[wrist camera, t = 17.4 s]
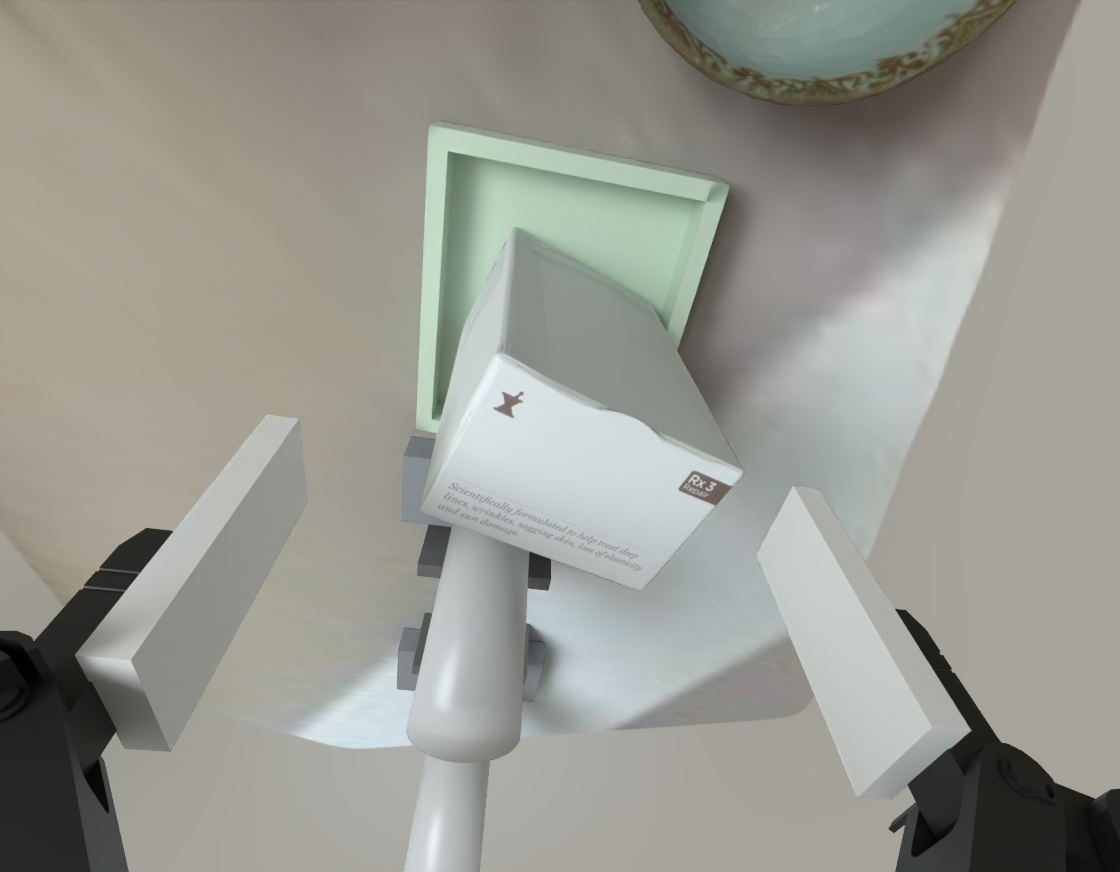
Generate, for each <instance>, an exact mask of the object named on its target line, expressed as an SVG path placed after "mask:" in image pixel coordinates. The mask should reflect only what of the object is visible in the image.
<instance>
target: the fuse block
mask: <svg viewBox="0 0 1120 872" xmlns="http://www.w3.org/2000/svg"><path fill="white" fill-rule="evenodd" d="M434 444H435V440H433V439H426V438H419V437H412V436H411V439H410V441H409V444H408V446H407V449H406V452H405V454H404V467H403V502H402V521H406V522H414V523H422V524H429V526H428V529H427V533H426V537H425V540H424V544H423V547H422V551H421V555H420V558H419V562H418V572H417V576H425V577H434V578H440V582H439V586H438V591H437V595H436V600H435V604H434V609H433V613H432V614H428V613H425V615H424V619H423V623H422V628H421V630H419V629H410V628H404V631H403V634H402V638H401V642H400V646H399V649H398V673H397V689H400V690H411V691H415V693H414V697H413V702H412V706H411V711H410V715H409V720H408V724H407V729H406V730H407V736H408V738H409V740H410V742H411V743H412V744H413V745H414V746H415V747H416V748H418V749H419V750H420V751H421V752H423V753H425V754H426V756H425V761H424V767H423V772H422V777H421V783H420V788H419V793H418V799H417V804H416V809H415V815H414V820H413V826H412V831H411V836H410V841H409V847H408V852H407V857H406V863H405V868H404V872H480V862H481V852H482V840H483V830H484V818H485V808H486V797H487V786H488V776H489V775H488V774H489V765H490V760H494V759H497V758H500V757H502V756H504V755H506V754H508V753H509V752H510V751H512V750H513V749H514V748H515V747H516V746H517V744H518V742H519V740H520V731H521V711H522V701H531V702H534V700H535V697H536V693H537V689H538V686H539V682H540V678H541V674H542V671H543V667H544V642H535V641H529V624H526V610H527V590H528V588H530V589H539V590H548V589H549V585H550V581H551V559H549V558H546V557H544V556H541V555H538V554H535V553H533V552H530V551H527V550H524V549H522V548H519V547H516V546H513V545H511V544H508V543H505V542H502V541H499V540H496V539H494V538H491V537H488V536H485V535H482V534H480V533H477V532H474V531H471V530H468V529H465V528H462V527H460V526H457V525H454V524H451V523H448V522H445V521H442V520H440V519H437V518H434V517H432V516H429V515H426V514H424V513H421V512H420V505H421V501H422V496H423V491H424V487H425V483H426V478H427V474H428V470H429V465H430V461H431V457H432V453H433V449H434Z"/></svg>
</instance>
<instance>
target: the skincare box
mask: <svg viewBox="0 0 1120 872" xmlns="http://www.w3.org/2000/svg"><path fill="white" fill-rule="evenodd" d="M743 474H744V470H743V468H742V466H741V465H740V463H739V461H738V459H737V457H736V456H735V454H734V452H733V450H732V449H731V447H730V445H729V443H728V441H727V439H726V438H725V436H724V434H723V432H722V430H721V429H720V427H719V425H718V423H717V422H716V420H715V418H714V416H713V414H712V413H711V411H710V409H709V407H708V405H707V404H706V402H705V400H704V398H703V396H702V395H701V393H700V391H699V389H698V388H697V386H696V384H695V382H694V381H693V379H692V377H691V375H690V373H689V372H688V370H687V368H686V366H685V364H684V363H683V361H682V359H681V357H680V356H679V354H678V352H677V350H676V348H675V347H674V345H673V343H672V341H671V339H670V338H669V336H668V334H667V332H666V330H665V329H664V327H663V325H662V323H661V321H660V319H659V318H658V316H657V314H656V312H655V310H654V309H653V307H652V304H651V303H650V302H649V301H648V300H646V299H645V298H643V297H641V296H640V295H638V294H636V293H634V292H633V291H631V290H629V289H627V288H626V287H624V286H622V285H620V284H618V283H617V282H615V281H613V280H612V279H610V278H608V277H606V276H605V275H603V274H601V273H599V272H598V271H596V270H594V269H592V268H590V267H588V266H587V265H585V264H583V263H581V262H580V261H578V260H576V259H574V258H572V257H571V256H569V255H567V254H565V253H563V252H561V251H559V250H557V249H555V248H553V247H551V246H549V245H547V244H545V243H543V242H541V241H539V240H537V239H535V238H534V237H532V236H531V235H529V234H527V233H526V232H524V231H522V230H521V229H519V228H517V227H513V229H512V230H511V231H510V233H509V235H508V237H507V239H506V241H505V243H504V245H503V247H502V249H501V251H500V253H499V255H498V257H497V259H496V261H495V263H494V265H493V267H492V269H491V271H490V273H489V275H488V277H487V279H486V282H485V284H484V286H483V288H482V290H481V292H480V294H479V296H478V298H477V300H476V302H475V304H474V306H473V308H472V310H471V312H470V314H469V316H468V318H467V320H466V323H465V325H464V328H463V331H462V335H461V339H460V343H459V347H458V351H457V355H456V359H455V363H454V368H453V372H452V376H451V380H450V384H449V389H448V393H447V396H446V400H445V404H444V408H443V412H442V416H441V420H440V424H439V428H438V432H437V436H436V440H435V444H434V449H433V453H432V457H431V461H430V465H429V470H428V474H427V478H426V483H425V487H424V491H423V496H422V501H421V505H420V512H421V513H424V514H426V515H429V516H432V517H434V518H437V519H440V520H442V521H445V522H448V523H451V524H454V525H457V526H460V527H462V528H465V529H468V530H471V531H474V532H477V533H480V534H482V535H485V536H488V537H491V538H494V539H496V540H499V541H502V542H505V543H508V544H511V545H513V546H516V547H519V548H522V549H524V550H527V551H530V552H533V553H535V554H538V555H541V556H544V557H546V558H549V559H552V560H555V561H558V562H560V563H563V564H566V565H569V566H571V567H574V568H577V569H580V570H583V571H585V572H588V573H591V574H594V575H596V576H599V577H602V578H605V579H607V580H610V581H613V582H616V583H618V584H621V585H624V586H626V587H629V588H632V589H635V590H637V591H640V590H642V589H643V588H644V587H645V586H646V585H647V584H648V583H649V582H650V581H651V580H652V579H653V578H654V576H655V575H656V574H657V573H658V572H659V571H660V570H661V568H662V567H663V566H664V565H665V564H666V563H667V562H668V561H669V559H670V558H671V557H672V556H673V555H674V553H675V552H676V551H677V550H678V549H679V548H680V547H681V545H682V544H683V543H684V542H685V541H686V540H687V539H688V537H689V536H690V535H691V534H692V533H693V532H694V531H695V529H696V528H697V527H698V526H699V525H700V524H701V523H702V521H703V520H704V519H705V518H706V517H707V516H708V515H709V513H710V512H711V511H712V510H713V509H714V508H715V506H716V505H717V504H718V503H719V502H720V500H721V499H722V498H723V497H724V495H725V494H726V493H727V492H728V491H729V490H730V489H731V488H732V487H733V485H734V484H735V483H736V482H737V481H738V480H739V479H740V478H741V477H742V476H743Z"/></svg>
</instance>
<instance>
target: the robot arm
mask: <svg viewBox="0 0 1120 872" xmlns="http://www.w3.org/2000/svg"><path fill="white" fill-rule="evenodd" d="M307 502H308V501H307V491H306V482H305V472H304V463H303V453H302V444H301V434H300V425H299V419H296V418H289V417H282V416H274V415H266V416H265V417H264V418H263V420H262V421H261V422H260V423H259V425H258V426H257V427H256V428H255V430H254V431H253V432H252V434H251V435H250V436H249V437H248V439H247V440H246V441H245V442H244V444H243V445H242V446H241V447H240V449H239V450H238V451H237V452H236V454H235V455H234V456H233V457H232V459H231V460H230V461H229V462H228V464H227V465H226V466H225V467H224V469H223V470H222V471H221V472H220V474H219V475H218V476H217V477H216V479H215V480H214V481H213V482H212V484H211V485H210V486H209V487H208V489H207V490H206V491H205V492H204V494H203V495H202V496H201V497H200V499H199V500H198V501H197V503H196V504H195V505H194V506H193V508H192V509H191V510H190V511H189V513H188V514H187V515H186V516H185V518H184V519H183V520H182V521H181V523H180V524H179V525H178V526H177V528H176V529H175V530H174V531H169V530H160V529H151V528H146V529H144V530H143V531H141V532H139V533H138V534H136V535H135V536H133V537H132V538H130V539H128V540H127V541H125V542H124V543H122V544H121V545H119V546H118V547H117V548H116V549H115V551H114V552H113V553H112V554H111V555H110V556H109V557H108V558H107V560H106V561H105V562H104V563H103V564H102V565H101V566H100V570H99V571H98V572H97V571H96V572H95V573H94V574H93V575H92V577H91V578H90V579H89V580H88V581H87V582H86V583H85V584H84V588H83V589H82V590H79V591H78V592H77V593H76V595H75V596H74V597H73V598H72V599H71V600H70V601H69V602H68V604H67V605H66V606H65V607H64V608H63V609H62V610H61V611H60V613H59V614H58V615H57V616H56V617H55V618H54V619H53V621H52V622H51V623H50V624H49V625H48V626H47V628H45V630H44V631H43V632H42V633H41V634H40V635H39V636H38V637H37V639H36V640H35V641H33V639H32V638H31V636H28V635H26V634H23V633H20V632H18V631H0V872H129V871H128V867H127V862H126V858H125V854H124V848H123V844H122V839H121V835H120V831H119V826H118V821H117V817H116V812H115V808H114V803H113V799H112V794H111V789H110V785H109V780H108V776H107V771H106V766H105V762H104V760H103V758H102V757H101V754H102V752H103V751H104V749H105V748H106V746H107V744H108V743H109V741H110V740H111V738H112V737H113V735H114V734H115V732H116V734H117V736H118V738H119V739H120V741H121V743H122V745H123V747H124V748H125V749H139V750H140V749H141V750H154V751H170V752H171V750H172V749H173V747H174V745H175V743H176V741H177V740H178V738H179V736H180V734H181V732H182V730H183V729H184V727H185V725H186V723H187V721H188V719H189V718H190V716H191V714H192V712H193V710H194V709H195V707H196V705H197V703H198V701H199V699H200V698H201V696H202V694H203V692H204V690H205V688H206V687H207V685H208V683H209V681H210V679H211V677H212V676H213V674H214V672H215V670H216V668H217V666H218V665H219V663H220V661H221V659H222V657H223V655H224V654H225V652H226V650H227V648H228V646H229V645H230V643H231V641H232V639H233V637H234V635H235V634H236V632H237V630H238V628H239V626H240V624H241V623H242V621H243V619H244V617H245V615H246V613H247V612H248V610H249V608H250V606H251V604H252V602H253V601H254V599H255V597H256V595H257V593H258V591H259V590H260V588H261V586H262V584H263V582H264V581H265V579H266V577H267V575H268V573H269V571H270V570H271V568H272V566H273V564H274V562H275V560H276V559H277V557H278V555H279V553H280V551H281V549H282V548H283V546H284V544H285V542H286V540H287V538H288V537H289V535H290V533H291V531H292V529H293V527H294V526H295V524H296V522H297V520H298V518H299V517H300V515H301V513H302V511H303V509H304V507H305V506H306V504H307ZM756 557H757V559H758V561H759V564H760V566H761V569H762V571H763V573H764V576H765V578H766V581H767V583H768V585H769V588H770V590H771V593H772V595H773V597H774V600H775V602H776V605H777V607H778V609H779V612H780V614H781V616H782V619H783V621H784V624H785V626H786V628H787V631H788V633H789V636H790V638H791V640H792V643H793V645H794V648H795V650H796V652H797V655H798V657H799V660H800V662H801V664H802V667H803V669H804V671H805V674H806V676H807V679H808V681H809V683H810V686H811V688H812V691H813V693H814V695H815V698H816V700H817V703H818V705H819V707H820V710H821V712H822V714H823V716H824V719H825V722H826V724H827V726H828V729H829V731H830V734H831V736H832V738H833V741H834V743H835V746H836V748H837V750H838V752H839V755H840V757H841V760H842V762H843V765H844V767H845V769H846V772H847V774H848V777H849V779H850V781H851V784H852V786H853V789H854V791H855V793H856V796H857V797H858V798H874V799H887V800H888V799H889V800H892V799H893V798H894V797H895V796H896V795H898V794H899V793H900V792H901V791H902V790H903V789H905V788H906V787H907V786H908V787H909V789H910V791H911V793H912V795H913V797H914V799H915V801H916V803H914V804H913V805H912V806H911V807H910V808H908V809H907V810H906V811H905V812H904V813H902V814H901V815H900V816H899V817H897V818H896V819H895V820H894V821H893V822H892V824H891V826H890V827H889V830H891V831H892V832H893V833H894V832H896V831H897V830H898V829H900V828H901V827H902V826H903V825H905V829H904V833H903V839H902V843H901V848H900V852H899V857H898V862H897V867H896V871H895V872H1120V789H1112V790H1110V791H1108V792H1106V793H1105V794H1103V795H1101V796H1100V797H1098V798H1096V799H1094V798H1092V797H1089V796H1087V795H1084V794H1082V793H1079V792H1077V791H1074V790H1071V789H1069V788H1067V787H1064V786H1062V785H1059V784H1057V783H1054V781H1053V779H1052V778H1051V777H1050V776H1049V774H1048V773H1047V772H1046V771H1045V770H1044V769H1043V768H1042V767H1041V766H1040V765H1039V764H1038V763H1037V762H1036V761H1035V760H1033V759H1032V758H1031V757H1030V756H1028V755H1027V754H1025V753H1024V752H1023V751H1021V750H1019V749H1017V748H1015V747H1013V746H1011V745H1009V744H1006V743H1001V741H1000V740H999V739H998V738H997V736H996V735H995V733H994V732H993V730H992V729H991V727H990V725H989V724H988V722H987V721H986V719H985V718H984V717H983V715H982V714H981V712H980V710H979V709H978V707H977V706H976V704H975V703H974V701H973V700H972V698H971V697H970V695H969V694H968V692H967V691H966V689H965V688H964V686H963V685H962V683H961V682H960V680H959V679H958V677H957V676H956V674H955V673H952V671H951V669H952V668H951V667H950V665H949V664H948V662H947V661H946V659H945V658H944V656H943V655H940V650H939V649H938V647H937V645H936V644H935V642H934V641H933V640H932V638H931V636H930V635H929V633H928V632H927V630H926V629H925V628H924V627H923V626H922V625H921V624H920V623H919V622H917V621H916V620H915V619H914V618H913V617H912V616H911V615H910V614H909V613H908V612H907V611H906V610H899V609H894V607H893V606H892V604H891V602H890V601H889V599H888V598H887V596H886V595H885V593H884V591H883V590H882V588H881V587H880V585H879V583H878V582H877V580H876V579H875V577H874V576H873V574H872V572H871V571H870V569H869V567H868V566H867V564H866V563H865V561H864V560H863V558H862V556H861V555H860V553H859V552H858V550H857V548H856V547H855V545H854V544H853V542H852V540H851V539H850V537H849V536H848V534H847V533H846V531H845V529H844V528H843V526H842V525H841V523H840V521H839V520H838V518H837V517H836V515H835V514H834V512H833V510H832V509H831V507H830V506H829V504H828V502H827V501H826V499H825V498H824V496H823V494H822V493H821V491H820V490H819V489H815V488H808V487H800V486H793V487H792V489H791V491H790V492H789V494H788V496H787V498H786V500H785V502H784V504H783V505H782V507H781V509H780V511H779V513H778V515H777V516H776V518H775V520H774V522H773V524H772V526H771V528H770V529H769V531H768V533H767V535H766V537H765V539H764V541H763V542H762V544H761V546H760V548H759V550H758V552H757V553H756Z"/></svg>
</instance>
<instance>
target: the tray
mask: <svg viewBox="0 0 1120 872" xmlns="http://www.w3.org/2000/svg"><path fill="white" fill-rule="evenodd" d="M729 188H730V185H729V184H728V183H726V182H724V181H723V180H721V179H719V178H718V177H716V176H712V175H707V174H702V173H697V172H692V171H687V170H682V169H677V168H672V167H667V166H662V165H657V164H652V163H647V162H642V161H637V160H632V159H627V158H623V157H618V156H613V155H608V154H603V153H598V152H593V151H588V150H583V149H578V148H573V147H568V146H563V145H558V144H553V143H548V142H543V141H538V140H533V139H528V138H523V137H518V136H513V135H508V134H503V133H498V132H493V131H488V130H483V129H478V128H473V127H468V126H463V125H458V124H453V123H449V122H444V121H438V122H435V123H432V124H430V125H429V132H428V155H427V179H426V202H425V226H424V249H423V273H422V297H421V320H420V344H419V367H418V391H417V414H416V430H419V431H426V432H433V433H437V432H438V428H439V424H440V420H441V416H442V412H443V408H444V404H445V400H446V396H447V393H448V389H449V384H450V380H451V376H452V372H453V368H454V363H455V359H456V355H457V351H458V347H459V343H460V339H461V335H462V331H463V328H464V325H465V323H466V320H467V318H468V316H469V314H470V312H471V310H472V308H473V306H474V304H475V302H476V300H477V298H478V296H479V294H480V292H481V290H482V288H483V286H484V284H485V282H486V279H487V277H488V275H489V273H490V271H491V269H492V267H493V265H494V263H495V261H496V259H497V257H498V255H499V253H500V251H501V249H502V247H503V245H504V243H505V241H506V239H507V237H508V235H509V233H510V231H511V230H512V229H513V227H517V228H519V229H521V230H522V231H524V232H526V233H527V234H529V235H531V236H532V237H534V238H535V239H537V240H539V241H541V242H543V243H545V244H547V245H549V246H551V247H553V248H555V249H557V250H559V251H561V252H563V253H565V254H567V255H569V256H571V257H572V258H574V259H576V260H578V261H580V262H581V263H583V264H585V265H587V266H588V267H590V268H592V269H594V270H596V271H598V272H599V273H601V274H603V275H605V276H606V277H608V278H610V279H612V280H613V281H615V282H617V283H618V284H620V285H622V286H624V287H626V288H627V289H629V290H631V291H633V292H634V293H636V294H638V295H640V296H641V297H643V298H645V299H646V300H648V301H649V302H650V303H651V304H652V307H653V309H654V310H655V312H656V314H657V316H658V318H659V319H660V321H661V323H662V325H663V327H664V329H665V330H666V332H667V334H668V336H669V338H670V339H671V341H672V343H673V345H674V347H675V348H676V350H678V347H679V344H680V341H681V338H682V334H683V331H684V328H685V325H686V322H687V319H688V316H689V313H690V310H691V306H692V303H693V300H694V297H695V294H696V291H697V288H698V285H699V281H700V278H701V275H702V272H703V269H704V266H705V263H706V260H707V257H708V253H709V250H710V247H711V244H712V241H713V238H714V235H715V232H716V228H717V225H718V222H719V219H720V216H721V213H722V210H723V207H724V204H725V200H726V197H727V194H728V191H729Z"/></svg>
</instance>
